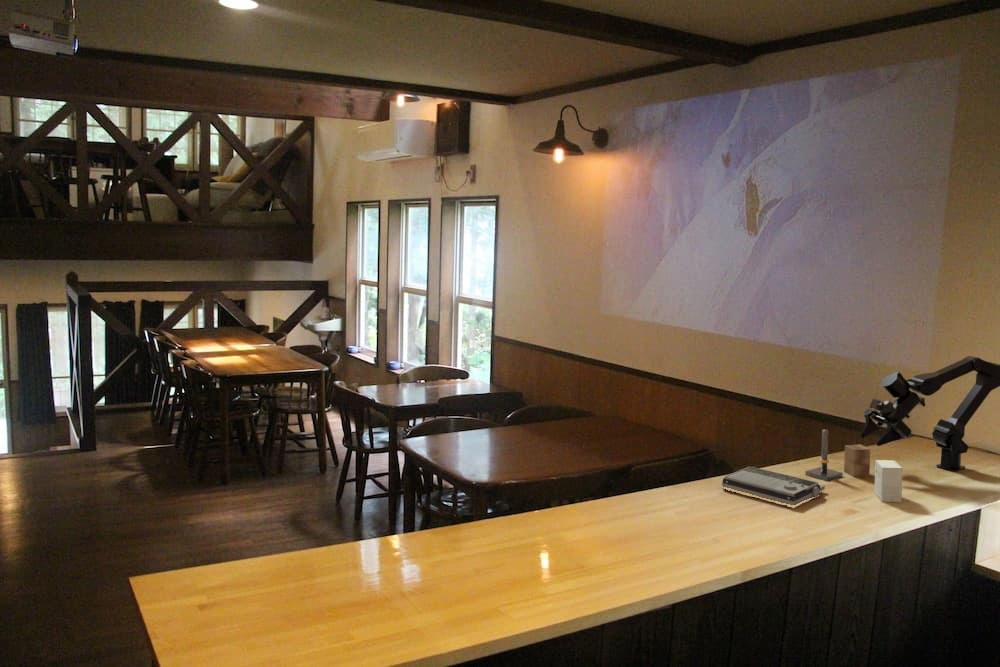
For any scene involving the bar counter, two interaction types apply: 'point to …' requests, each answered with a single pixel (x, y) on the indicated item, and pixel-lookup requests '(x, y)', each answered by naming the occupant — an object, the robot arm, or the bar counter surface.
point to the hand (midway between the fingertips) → (868, 441)
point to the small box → (888, 481)
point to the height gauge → (824, 463)
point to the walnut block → (857, 460)
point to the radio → (772, 485)
